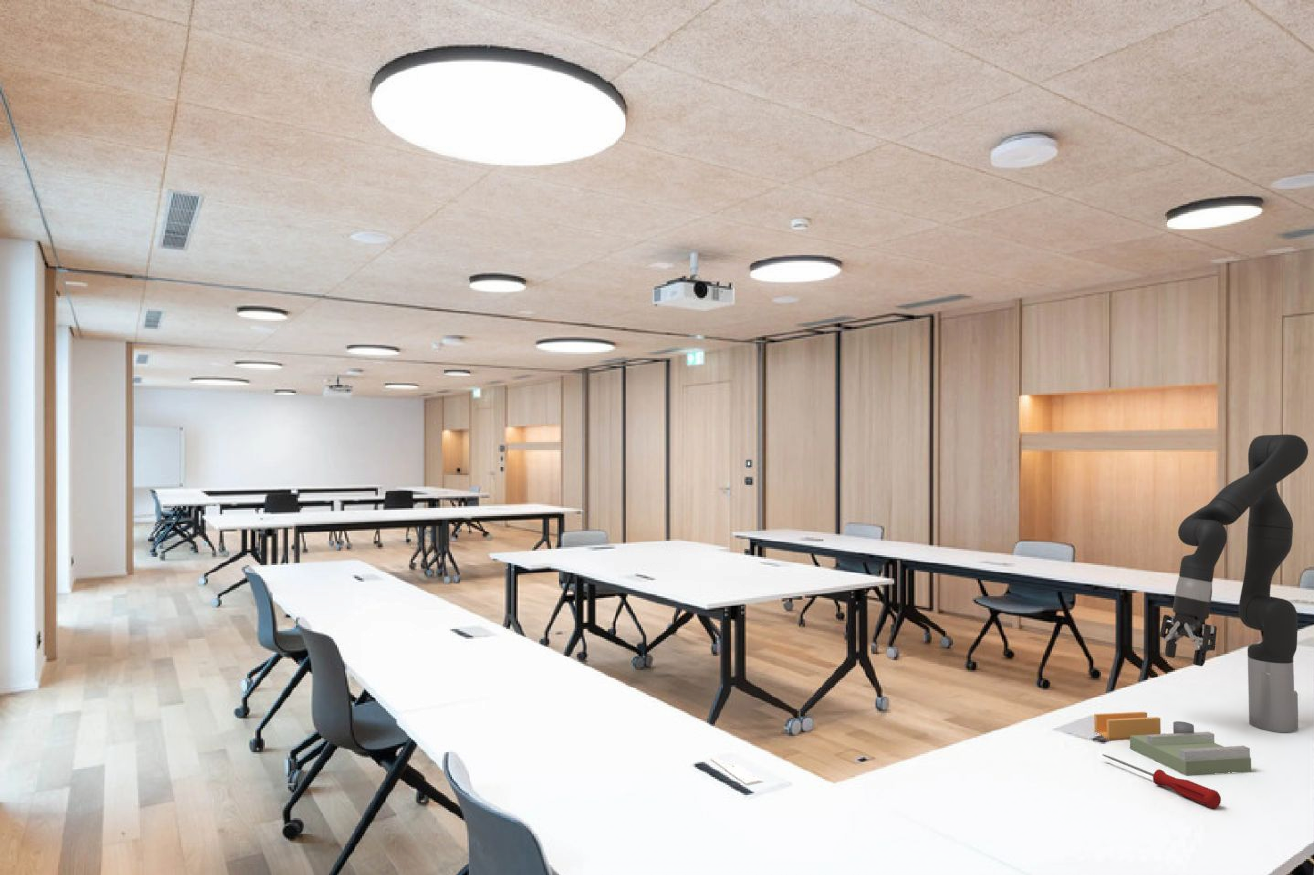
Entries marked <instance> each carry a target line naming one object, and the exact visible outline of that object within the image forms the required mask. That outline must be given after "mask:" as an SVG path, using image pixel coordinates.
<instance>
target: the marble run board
mask: <svg viewBox="0 0 1314 875" xmlns="http://www.w3.org/2000/svg"><path fill="white" fill-rule="evenodd" d="M1172 723H1173V725H1172V726H1173V727H1172V730H1173V733H1193V732H1195V726H1194V724H1193V723H1190V722H1186V721H1179V720H1178V721H1173V722H1172ZM1173 733H1172V734H1173ZM1211 747H1224V745H1221V744H1218V743H1216V742H1214V743H1200V744H1181V745H1161V746H1151V745H1149V744H1147V735H1132V736H1130V740H1129V749H1131V750H1133V751H1134V752H1136V751H1137V753H1139V754H1140V755H1142V756H1144V757H1147V758H1149V759H1151V760H1153V761H1155V762H1158V763H1159V764H1162V765H1164V766H1166V767H1168V768H1170V769H1171V770H1174V771H1176V772H1177V773H1180V774H1182V775H1183V776H1186V777H1187V776H1204V775H1205V776H1206V775H1216V774H1215V773H1224V774H1233V773H1232V772H1241V773H1252V757H1250V758H1232V759H1214V760H1196V761H1184V760H1181V759H1179V749H1191V748H1211ZM1228 772H1230V773H1228Z"/></svg>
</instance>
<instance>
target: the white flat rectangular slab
mask: <svg viewBox="0 0 1314 875" xmlns="http://www.w3.org/2000/svg"><path fill="white" fill-rule="evenodd" d="M710 761H711V762H712V763H714V764H715V765H717V766H718V767H719V768H721V769H722V770H724V771H725V772H726V773H727V774H729V775H731V776H732V777H733V778H734V779H736V780H737V781H739V782H741V783H742V784H743V785H744V786H750V785H757V784H760V783H765V781H764V780H762V779H761V778H759V777H758V776H756V775H755V774H753V773H752V772H751V771H749V770H747V769H746V768H745V767H744V766H742V765H739V764H732V766H730V765H728V764H726V763H724V762H723V761H722V760H721V759H719V757H717V756H715V757H711V758H710Z"/></svg>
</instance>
